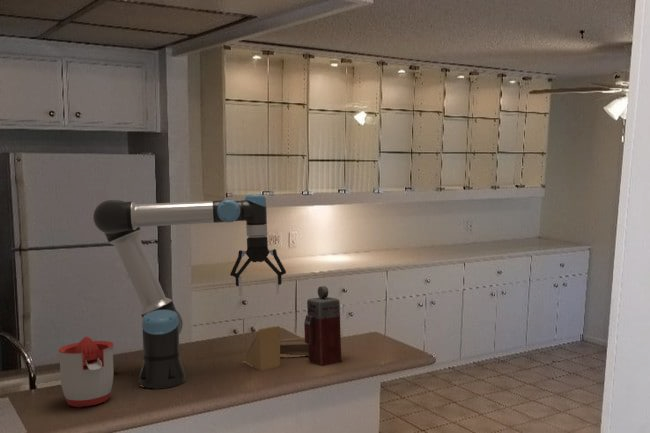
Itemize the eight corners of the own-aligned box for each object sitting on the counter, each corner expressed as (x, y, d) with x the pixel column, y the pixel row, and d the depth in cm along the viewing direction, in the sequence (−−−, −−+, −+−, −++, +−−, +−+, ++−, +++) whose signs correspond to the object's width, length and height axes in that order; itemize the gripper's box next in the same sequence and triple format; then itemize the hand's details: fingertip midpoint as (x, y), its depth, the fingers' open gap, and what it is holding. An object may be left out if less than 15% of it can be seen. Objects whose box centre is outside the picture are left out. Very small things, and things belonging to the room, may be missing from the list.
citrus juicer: (68, 415, 168) (66, 345, 168) (55, 401, 182) (52, 336, 182) (124, 403, 178) (121, 337, 177) (107, 390, 192) (105, 329, 191)
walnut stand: (327, 356, 227) (327, 343, 227) (278, 358, 227) (277, 345, 227) (327, 349, 239) (327, 337, 239) (280, 350, 239) (280, 338, 239)
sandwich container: (261, 359, 227) (260, 320, 227) (281, 367, 215) (280, 325, 215) (240, 362, 223) (239, 322, 222) (260, 371, 210) (259, 329, 210)
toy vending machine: (303, 362, 220) (300, 286, 220) (328, 357, 226) (326, 284, 226) (315, 367, 212) (313, 289, 212) (341, 362, 218) (339, 286, 218)
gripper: (291, 235, 221) (293, 291, 221) (224, 237, 221) (226, 294, 221) (290, 235, 213) (292, 294, 214) (221, 238, 214) (223, 297, 214)
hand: (259, 294), depth 218 cm, fingers open, 13 cm apart
